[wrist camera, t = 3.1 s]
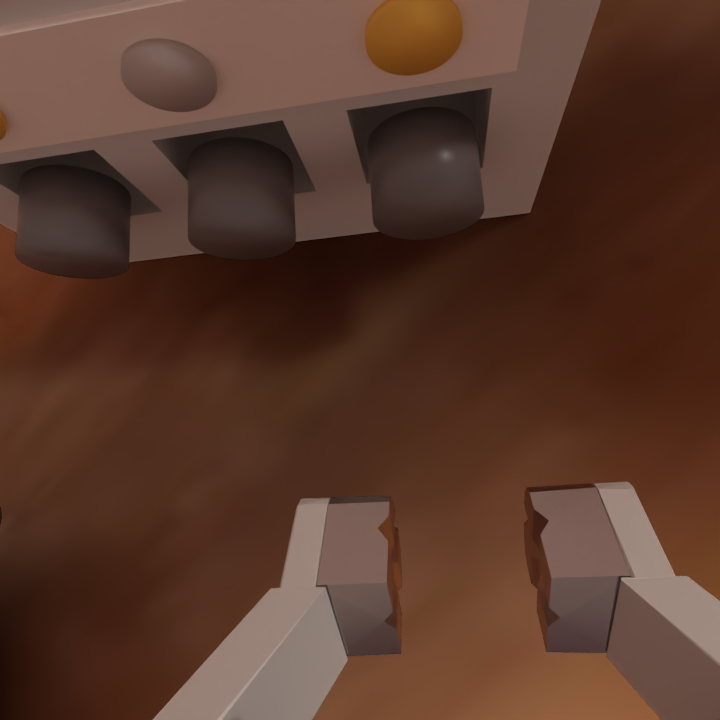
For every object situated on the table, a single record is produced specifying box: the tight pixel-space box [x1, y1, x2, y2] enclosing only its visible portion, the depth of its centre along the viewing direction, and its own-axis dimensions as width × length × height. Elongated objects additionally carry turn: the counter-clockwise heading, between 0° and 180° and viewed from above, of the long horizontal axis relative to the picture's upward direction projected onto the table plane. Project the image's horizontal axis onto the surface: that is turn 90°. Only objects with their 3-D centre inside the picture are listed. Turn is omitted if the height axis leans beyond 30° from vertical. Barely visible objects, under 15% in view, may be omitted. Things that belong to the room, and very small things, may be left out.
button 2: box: [188, 137, 296, 260], centre depth 21 cm, size 3×4×4 cm
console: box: [0, 0, 601, 262], centre depth 21 cm, size 11×24×16 cm, turn 94°
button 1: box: [368, 107, 484, 240], centre depth 20 cm, size 3×4×4 cm
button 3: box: [15, 165, 131, 279], centre depth 22 cm, size 3×4×4 cm
